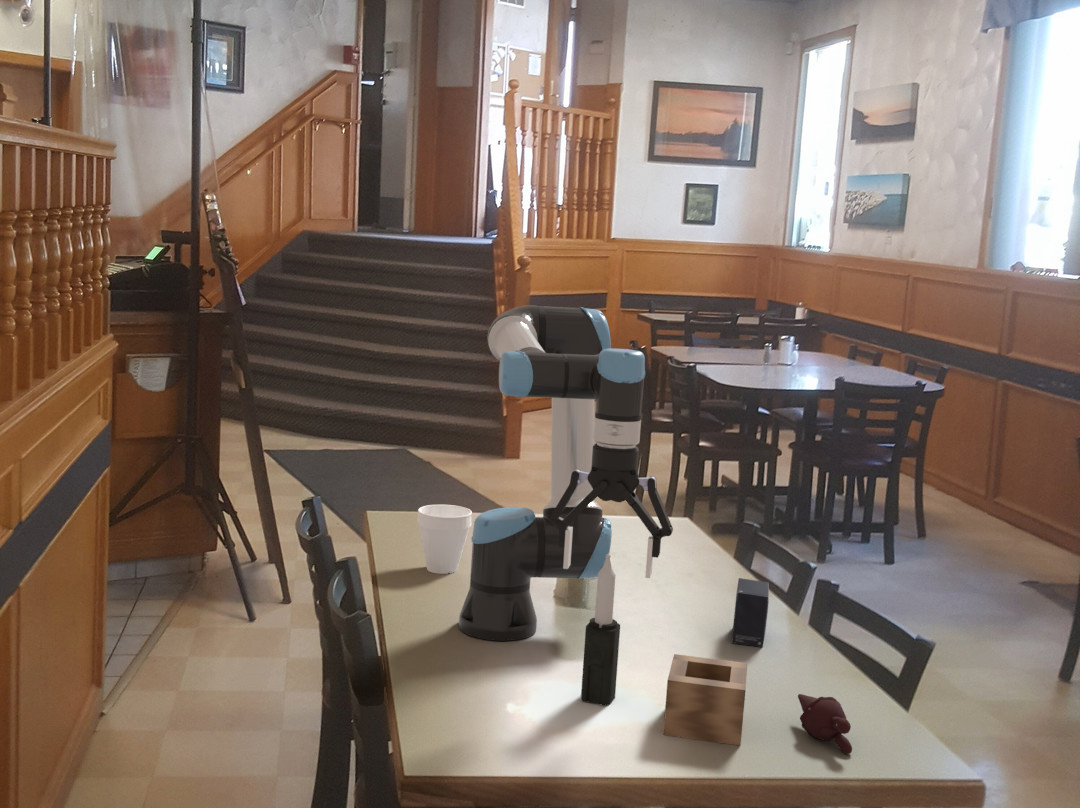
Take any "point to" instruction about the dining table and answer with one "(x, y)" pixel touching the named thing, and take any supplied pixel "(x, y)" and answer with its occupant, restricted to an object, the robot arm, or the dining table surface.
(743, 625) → the small box
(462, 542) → the cup
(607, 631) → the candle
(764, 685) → the dining table surface
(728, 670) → the well block
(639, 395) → the robot arm
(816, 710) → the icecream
